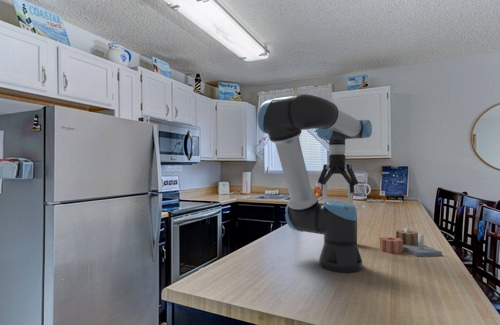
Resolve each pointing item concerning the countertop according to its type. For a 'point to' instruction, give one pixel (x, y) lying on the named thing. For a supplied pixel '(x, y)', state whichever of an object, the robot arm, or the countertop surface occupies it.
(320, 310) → the countertop surface
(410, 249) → the gear board
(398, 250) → the gear
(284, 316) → the countertop surface
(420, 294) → the countertop surface
